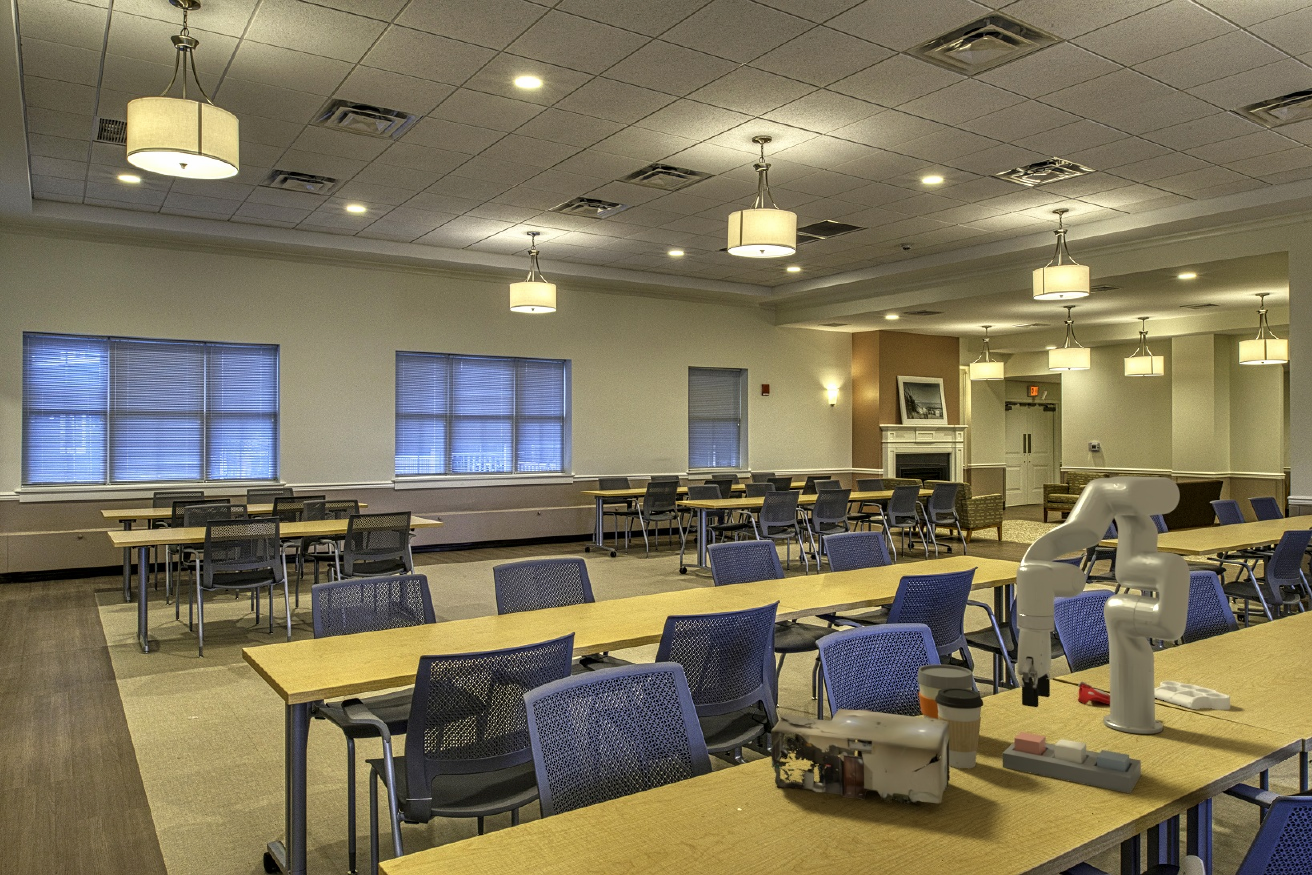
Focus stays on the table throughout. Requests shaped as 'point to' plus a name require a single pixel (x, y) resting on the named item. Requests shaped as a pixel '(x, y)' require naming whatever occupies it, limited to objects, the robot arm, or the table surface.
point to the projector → (867, 755)
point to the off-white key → (1070, 751)
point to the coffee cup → (961, 723)
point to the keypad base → (1073, 768)
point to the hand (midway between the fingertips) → (1036, 700)
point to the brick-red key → (1030, 743)
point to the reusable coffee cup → (940, 684)
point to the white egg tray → (1192, 696)
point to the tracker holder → (1092, 694)
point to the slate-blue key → (1113, 760)
